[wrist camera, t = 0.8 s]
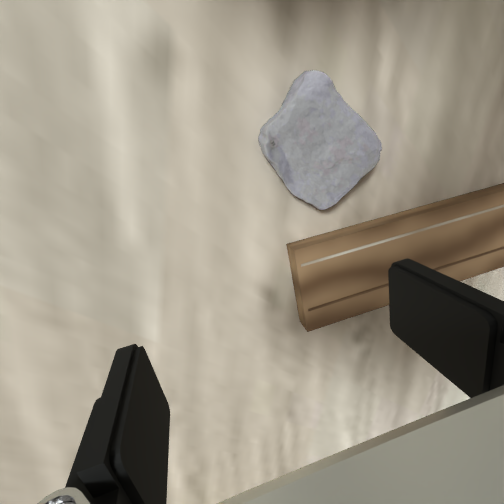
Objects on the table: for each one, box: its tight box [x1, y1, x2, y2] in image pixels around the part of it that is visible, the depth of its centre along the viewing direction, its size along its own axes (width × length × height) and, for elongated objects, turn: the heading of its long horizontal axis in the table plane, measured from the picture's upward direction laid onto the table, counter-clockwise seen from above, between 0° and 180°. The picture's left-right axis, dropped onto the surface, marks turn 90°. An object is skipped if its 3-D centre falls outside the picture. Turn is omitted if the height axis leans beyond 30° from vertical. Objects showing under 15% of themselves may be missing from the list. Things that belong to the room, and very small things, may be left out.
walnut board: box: [287, 183, 504, 332], centre depth 37 cm, size 11×32×3 cm, turn 102°
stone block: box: [258, 70, 382, 210], centre depth 30 cm, size 12×5×10 cm
